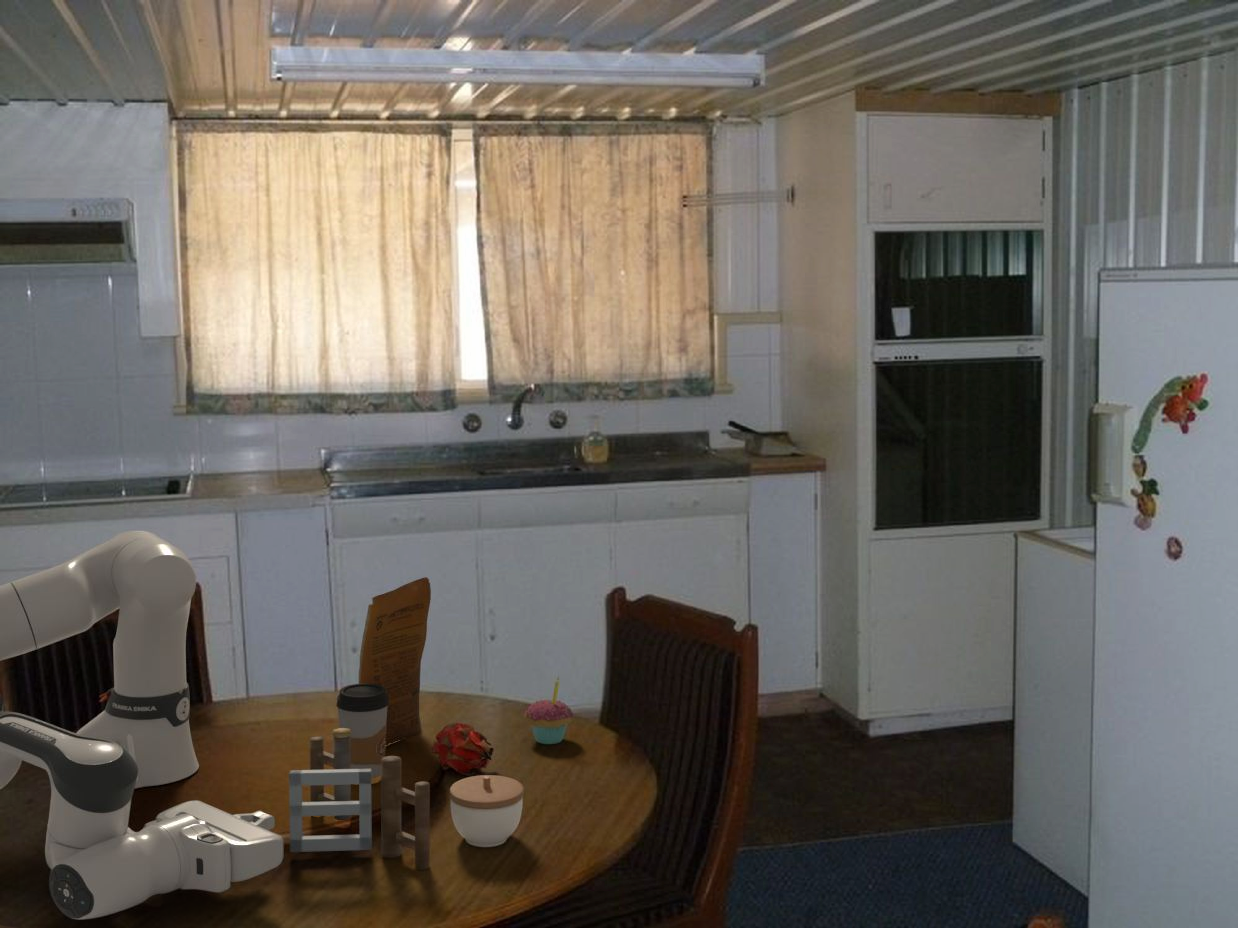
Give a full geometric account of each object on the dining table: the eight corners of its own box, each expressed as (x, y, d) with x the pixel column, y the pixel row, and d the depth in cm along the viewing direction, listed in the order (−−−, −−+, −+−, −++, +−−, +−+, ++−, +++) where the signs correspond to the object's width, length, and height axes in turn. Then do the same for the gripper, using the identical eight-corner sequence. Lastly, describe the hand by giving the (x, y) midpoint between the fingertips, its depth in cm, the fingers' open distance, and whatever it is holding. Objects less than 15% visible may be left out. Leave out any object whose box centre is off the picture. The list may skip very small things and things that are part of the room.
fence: (294, 820, 204) (293, 726, 202) (320, 810, 208) (318, 718, 206) (419, 871, 187) (419, 770, 185) (444, 860, 191) (445, 761, 189)
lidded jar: (493, 860, 192) (494, 796, 190) (434, 842, 197) (434, 780, 196) (537, 834, 201) (538, 773, 199) (479, 818, 206) (480, 758, 205)
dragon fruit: (438, 767, 231) (487, 795, 224) (411, 750, 225) (460, 778, 217) (464, 723, 233) (514, 749, 226) (437, 705, 227) (487, 731, 220)
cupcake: (581, 738, 242) (582, 673, 241) (554, 751, 235) (555, 684, 234) (542, 728, 247) (543, 664, 245) (514, 741, 240) (515, 675, 238)
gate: (371, 845, 193) (371, 768, 191) (371, 849, 192) (370, 771, 190) (291, 848, 192) (290, 770, 190) (290, 851, 191) (289, 773, 189)
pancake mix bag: (443, 728, 246) (443, 577, 242) (371, 758, 230) (370, 597, 226) (414, 721, 250) (414, 572, 246) (341, 750, 233) (340, 591, 230)
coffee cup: (377, 791, 216) (377, 699, 214) (328, 786, 218) (327, 695, 215) (396, 772, 224) (396, 684, 222) (349, 767, 226) (348, 680, 224)
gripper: (135, 851, 183) (222, 820, 194) (228, 896, 170) (315, 860, 181) (134, 806, 182) (222, 778, 193) (227, 849, 170) (315, 815, 180)
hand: (268, 818), depth 187 cm, fingers closed
